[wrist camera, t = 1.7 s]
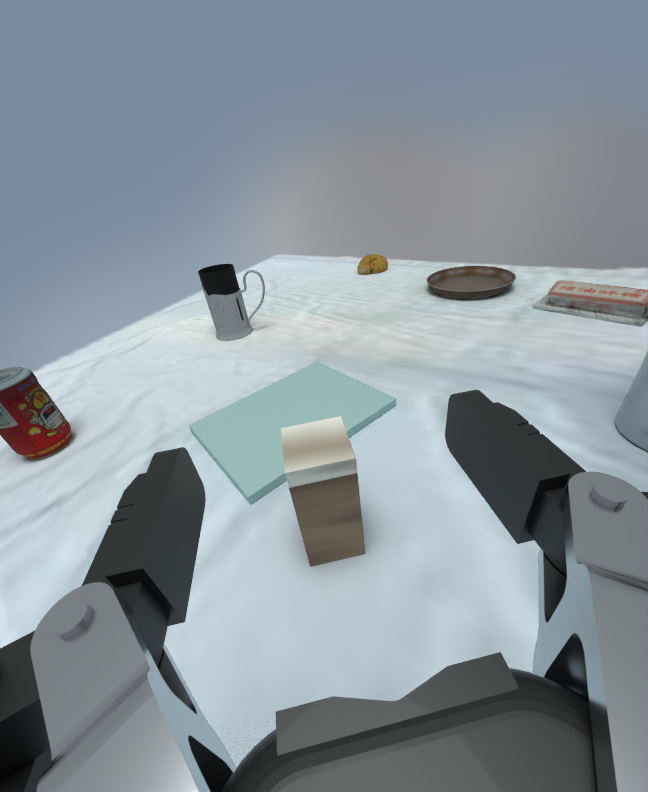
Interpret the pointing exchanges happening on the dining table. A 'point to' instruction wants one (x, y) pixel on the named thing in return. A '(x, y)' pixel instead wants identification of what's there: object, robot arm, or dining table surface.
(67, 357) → the dining table surface
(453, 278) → the plant saucer
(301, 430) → the brown tall square block
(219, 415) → the sage board
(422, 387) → the dining table surface
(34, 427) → the soda can
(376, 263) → the bagel
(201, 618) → the dining table surface
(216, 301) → the glass holder
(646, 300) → the packaged product
